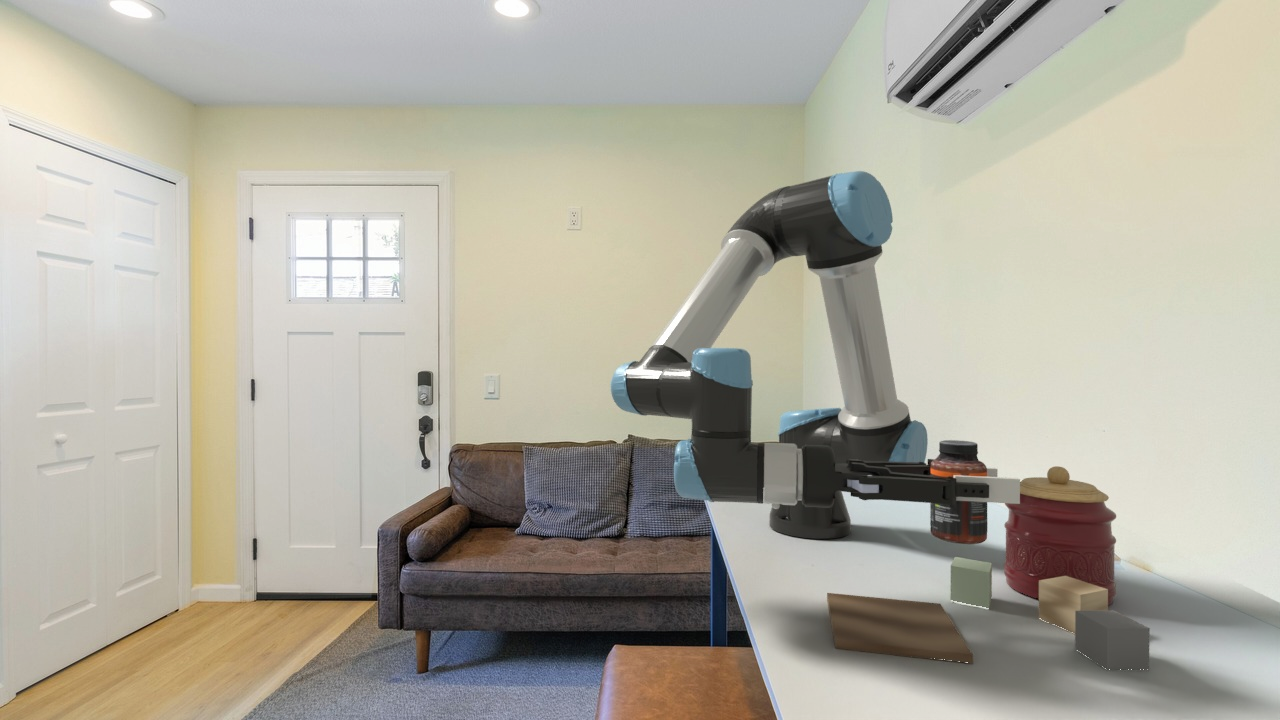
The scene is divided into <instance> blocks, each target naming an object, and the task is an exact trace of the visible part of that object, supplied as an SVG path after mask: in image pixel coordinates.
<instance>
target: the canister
mask: <svg viewBox="0 0 1280 720" xmlns="http://www.w3.org/2000/svg"><path fill="white" fill-rule="evenodd" d="M1046 476H1047V477H1042V476H1041V477H1040V476H1039V477H1038V476H1037V477H1025V478H1023V479H1022V480H1020V504H1012V503H1004V505H1005V507H1006V508H1007V509H1008V518H1007V521H1006V522H1004V528H1005V562H1004V564H1003V567H1004V571H1003V572H1004V576H1005V581H1006V582H1005V583H1006V584H1007V585H1008V586H1009V587H1010V588H1011V589H1013V590H1014V589H1015V590H1014V591H1016V592H1018V593H1020V592H1021V594H1022V593H1023V594H1022V595H1024V594H1025V596H1027V595H1028V596H1027V597H1030V596H1031V597H1030V598H1033V597H1034V599H1036V598H1038V599H1037V600H1039V580H1044V579H1050V578H1055V577H1061V576H1068V577H1071V578H1074V579H1078V580H1081V581H1084V582H1087V583H1090V584H1093V585H1096V586H1099V587H1102V588H1105V589H1108V606H1110V605H1112V604H1113V603H1114V600H1115V599H1114V597H1115V595H1116V593H1117V590H1116V587H1117V583H1116V581H1115V548H1116V547H1115V544H1116V543H1117V538H1116V537H1115V536H1114V535H1113V533H1112V532H1113V531H1112V522H1113V521H1115V520H1116V518H1117V514H1116V512H1114V511H1113V510H1112V509H1110V508H1109V507H1107V506H1106V502H1107V501H1109V498H1110V497H1109V496H1108V494H1106V493H1104V492H1103V491H1102V490H1099V489H1098V488H1097V487H1096V486H1095V485H1094V484H1091V483H1088V482H1084V481H1080V480H1079V481H1078V480H1073V479H1070V478H1071V476H1070V472H1069V471H1068V470H1067V469H1066V468H1065V467H1063V466H1052V467H1050V468H1049V469H1048V470H1047V473H1046Z"/></svg>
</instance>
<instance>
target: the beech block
mask: <svg viewBox="0 0 1280 720" xmlns="http://www.w3.org/2000/svg"><path fill="white" fill-rule="evenodd" d="M1075 611H1109V605H1108V589H1105V588H1102V587H1099V586H1096V585H1093V584H1090V583H1087V582H1084V581H1081V580H1078V579H1074V578H1071V577H1068V576H1061V577H1055V578H1050V579H1044V580H1039V599H1038V619H1039V618H1041V619H1042V620H1044V621H1046V622H1049V623H1051V624H1055V625H1057V626H1059V627H1062V628H1064V629H1066V630H1068V631H1070V632H1073V633H1075ZM1046 622H1045V623H1046ZM1051 624H1050V625H1051ZM1068 631H1067V632H1068ZM1070 632H1069V633H1070ZM1073 633H1072V634H1073Z"/></svg>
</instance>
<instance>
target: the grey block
mask: <svg viewBox="0 0 1280 720" xmlns="http://www.w3.org/2000/svg"><path fill="white" fill-rule="evenodd" d="M1074 637H1075V638H1074V639H1075V640H1074V648H1075V649H1076V650H1078V651H1080V652H1081V653H1083V654H1084V655H1086V656H1087V657H1089V658H1090V659H1092V660H1093V661H1094V663H1095V662H1096V663H1098V664H1099V665H1101V666H1103V667H1104V668H1106V669H1107V670H1106V669H1105V670H1106V671H1148V670H1147V669H1149V670H1150V627H1148V626H1146V625H1144V624H1142V623H1140V622H1138V621H1136V620H1134V619H1132V618H1130V617H1128V616H1127V615H1124V614H1123V613H1122V612H1121V613H1120V612H1118V611H1117V610H1108V611H1075V634H1074ZM1075 649H1074V650H1075ZM1076 650H1075V651H1076ZM1078 651H1077V652H1078ZM1081 653H1080V654H1081ZM1084 655H1083V656H1084ZM1087 657H1086V658H1087ZM1089 658H1088V659H1089ZM1090 659H1089V660H1090ZM1092 660H1091V661H1092ZM1093 661H1092V662H1093ZM1096 663H1095V664H1096ZM1098 664H1097V665H1098ZM1099 665H1098V666H1099ZM1101 666H1100V667H1101ZM1103 667H1102V668H1103ZM1104 668H1103V669H1104ZM1109 669H1110V670H1109ZM1120 669H1121V670H1120ZM1128 669H1129V670H1128ZM1131 669H1132V670H1131ZM1140 669H1141V670H1140ZM1143 669H1144V670H1143Z"/></svg>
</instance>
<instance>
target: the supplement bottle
mask: <svg viewBox="0 0 1280 720" xmlns="http://www.w3.org/2000/svg"><path fill="white" fill-rule="evenodd" d="M938 446H939V449H938V451H939V454H938V455H937V457H936V458H934V460H933V461H932V462H931V476H942V477H948V476H951V477H953V475H963V476H985V477H987V468H988V467H987V465H986V464H985V463H984V462H983V461H981V460H979V458H978V454H979V451H978V447H979V446H978V443H977V442H974V441H968V440H957V439H956V440H955V439H954V440H952V439H950V440H949V439H948V440H947V439H946V440H940V441H939V445H938ZM929 505H930V507H929V508H930V509H929V510H930V513H929V514H930V517H929V518H930V524H929V525H930V534H931V535H932V536H933V537H934V538H936V539H939V540H941V541H945V542H948V543H953V544H960V545H961V544H962V545H976V544H982V543H984V542H985V541H987V538H988V502H975V501H956V508H950V505H947V504H939V503H929Z"/></svg>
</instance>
